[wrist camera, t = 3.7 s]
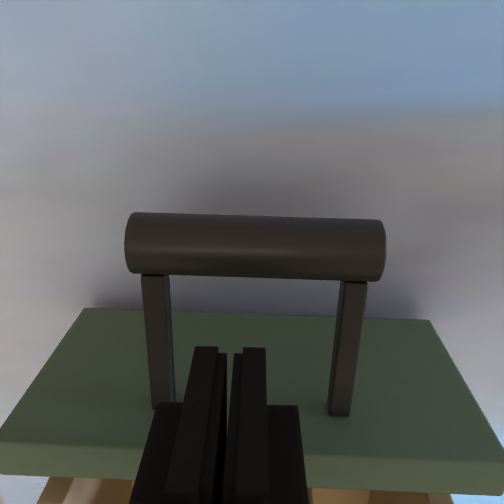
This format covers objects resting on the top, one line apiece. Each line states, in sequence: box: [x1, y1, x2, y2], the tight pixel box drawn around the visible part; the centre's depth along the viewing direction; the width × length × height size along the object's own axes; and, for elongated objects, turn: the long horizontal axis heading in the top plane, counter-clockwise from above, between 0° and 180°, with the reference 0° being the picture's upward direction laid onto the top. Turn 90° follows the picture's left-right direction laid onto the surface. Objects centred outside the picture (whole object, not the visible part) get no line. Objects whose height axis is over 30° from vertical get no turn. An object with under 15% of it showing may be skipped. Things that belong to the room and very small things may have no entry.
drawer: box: [0, 212, 504, 504], centre depth 17 cm, size 21×13×7 cm, turn 179°
